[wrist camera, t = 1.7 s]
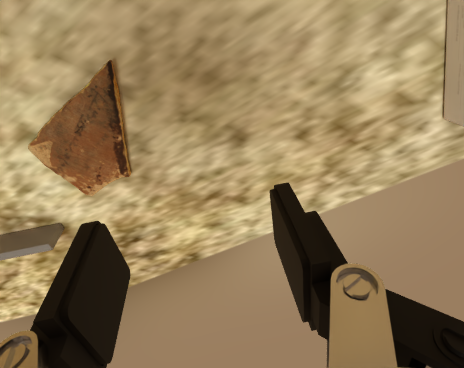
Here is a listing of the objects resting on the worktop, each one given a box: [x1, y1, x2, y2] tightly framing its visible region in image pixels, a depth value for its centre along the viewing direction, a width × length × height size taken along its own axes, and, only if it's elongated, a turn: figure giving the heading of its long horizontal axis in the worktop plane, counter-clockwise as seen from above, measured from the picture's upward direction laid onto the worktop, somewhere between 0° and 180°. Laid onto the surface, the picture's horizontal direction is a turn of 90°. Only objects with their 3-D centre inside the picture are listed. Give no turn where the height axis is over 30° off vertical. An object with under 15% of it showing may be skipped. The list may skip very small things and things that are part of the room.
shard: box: [28, 60, 131, 196], centre depth 24 cm, size 11×8×2 cm
